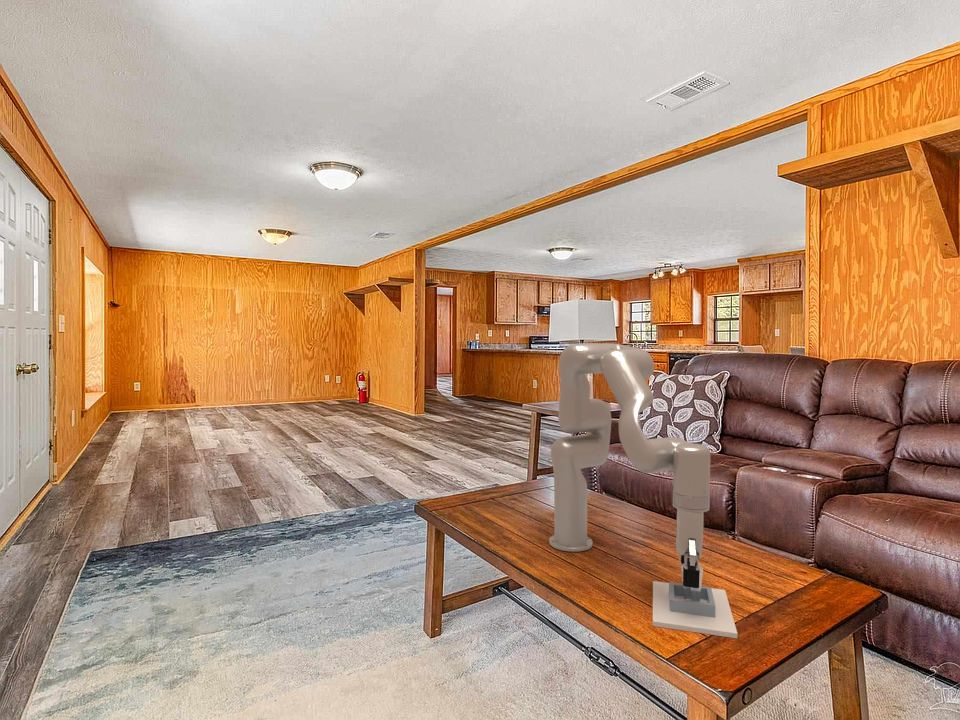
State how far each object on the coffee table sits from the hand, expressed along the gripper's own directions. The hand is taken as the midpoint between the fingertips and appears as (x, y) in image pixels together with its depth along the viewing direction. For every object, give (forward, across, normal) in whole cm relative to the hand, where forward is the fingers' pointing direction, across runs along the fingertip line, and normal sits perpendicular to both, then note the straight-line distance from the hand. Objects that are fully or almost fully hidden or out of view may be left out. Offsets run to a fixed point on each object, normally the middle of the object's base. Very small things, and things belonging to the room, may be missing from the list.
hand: (689, 577), depth 119 cm
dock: (+7, 0, 0) cm, 7 cm away
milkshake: (+6, 0, 0) cm, 6 cm away
